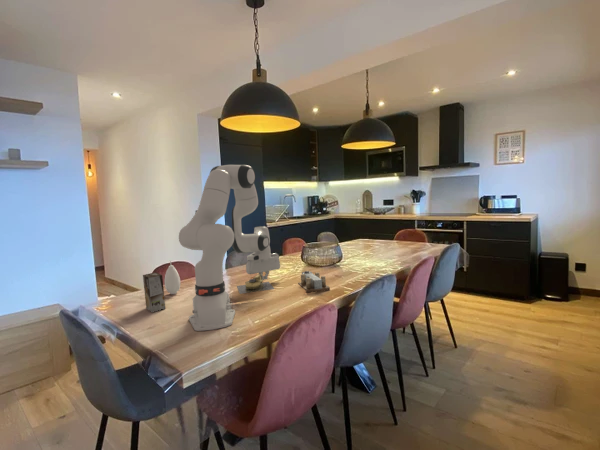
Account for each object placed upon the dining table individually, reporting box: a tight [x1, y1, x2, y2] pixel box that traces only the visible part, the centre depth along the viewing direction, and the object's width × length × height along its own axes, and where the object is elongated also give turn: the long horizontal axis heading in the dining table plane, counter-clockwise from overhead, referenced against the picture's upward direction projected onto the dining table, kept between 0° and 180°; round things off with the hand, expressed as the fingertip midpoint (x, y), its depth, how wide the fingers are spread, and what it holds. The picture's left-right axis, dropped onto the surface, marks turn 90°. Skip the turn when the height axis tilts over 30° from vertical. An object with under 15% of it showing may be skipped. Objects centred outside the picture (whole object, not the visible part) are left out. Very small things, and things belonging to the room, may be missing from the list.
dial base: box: [236, 281, 275, 295], centre depth 173 cm, size 16×18×1 cm
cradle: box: [297, 272, 331, 294], centre depth 170 cm, size 16×12×6 cm
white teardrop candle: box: [164, 260, 181, 295], centre depth 172 cm, size 8×8×18 cm
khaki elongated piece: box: [244, 273, 264, 289], centre depth 177 cm, size 17×8×4 cm, turn 168°
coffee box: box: [142, 272, 166, 313], centre depth 149 cm, size 9×6×16 cm
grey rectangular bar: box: [301, 270, 322, 289], centre depth 172 cm, size 21×6×5 cm, turn 17°
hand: (264, 279), depth 181 cm, fingers closed
